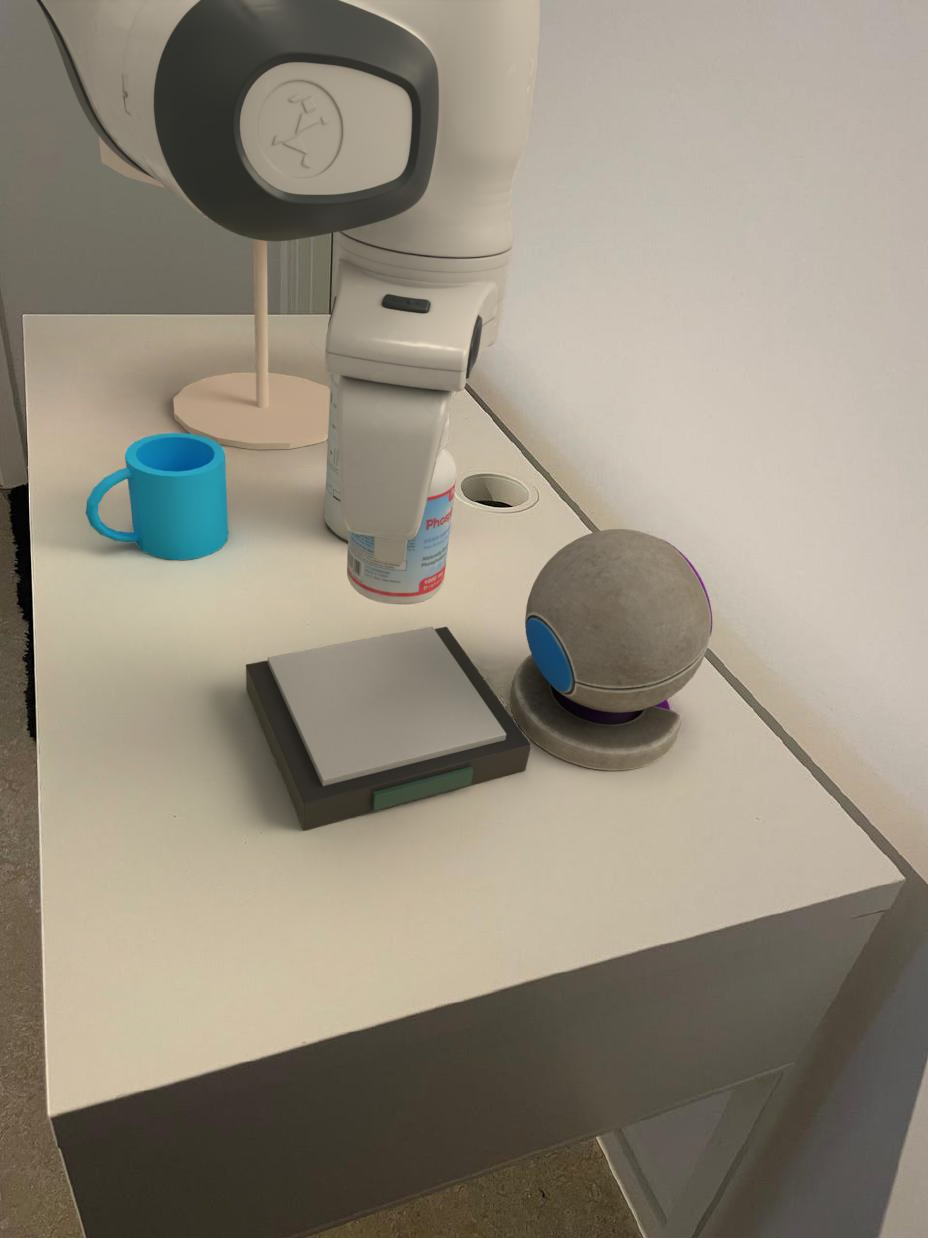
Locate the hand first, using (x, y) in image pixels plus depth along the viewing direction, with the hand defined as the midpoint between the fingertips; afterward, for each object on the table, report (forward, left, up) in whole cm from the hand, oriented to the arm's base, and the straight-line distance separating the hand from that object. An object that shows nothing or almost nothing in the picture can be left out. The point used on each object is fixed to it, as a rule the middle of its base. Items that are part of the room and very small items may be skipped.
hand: (399, 524), depth 54 cm
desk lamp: (+6, +54, -17) cm, 57 cm away
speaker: (+10, +27, -17) cm, 34 cm away
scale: (0, 0, -17) cm, 17 cm away
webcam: (+16, -3, -17) cm, 24 cm away
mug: (-10, +29, -17) cm, 35 cm away
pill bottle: (0, 0, -4) cm, 4 cm away
